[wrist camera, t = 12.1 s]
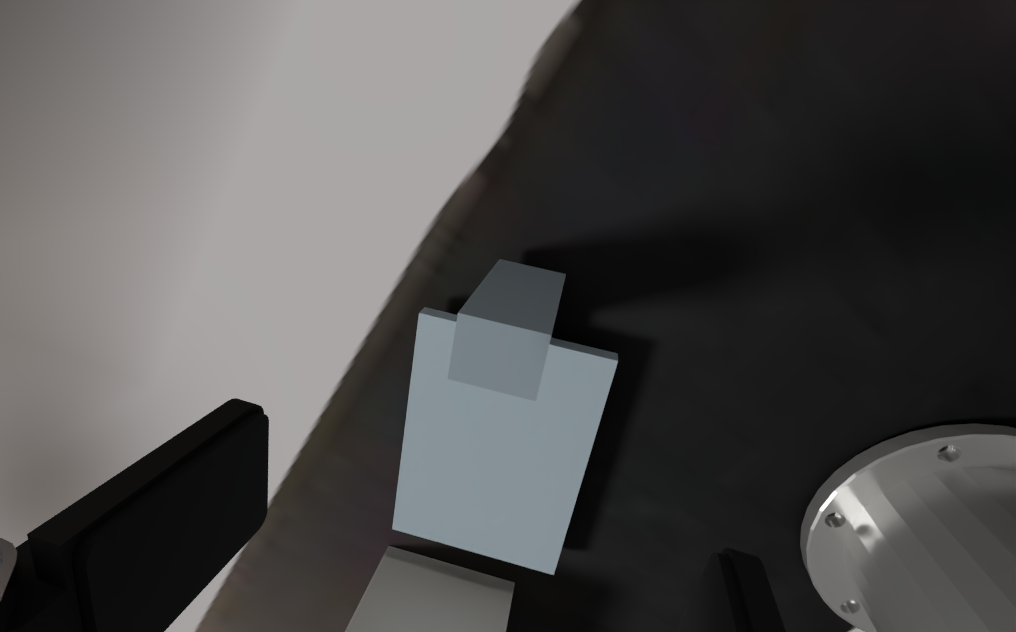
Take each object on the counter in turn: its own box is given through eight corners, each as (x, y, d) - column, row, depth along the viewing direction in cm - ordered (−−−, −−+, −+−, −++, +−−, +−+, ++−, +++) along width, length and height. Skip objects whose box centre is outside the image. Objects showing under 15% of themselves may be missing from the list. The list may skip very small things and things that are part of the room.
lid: (634, 283, 22) (652, 359, 15) (556, 549, 28) (540, 696, 21) (439, 239, 23) (364, 290, 16) (404, 506, 29) (338, 633, 22)
